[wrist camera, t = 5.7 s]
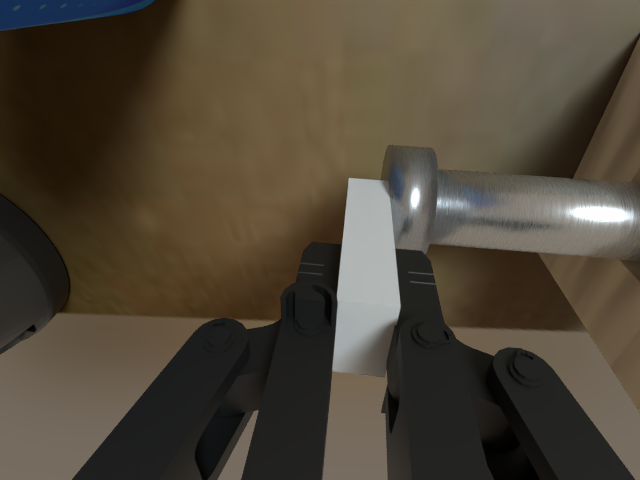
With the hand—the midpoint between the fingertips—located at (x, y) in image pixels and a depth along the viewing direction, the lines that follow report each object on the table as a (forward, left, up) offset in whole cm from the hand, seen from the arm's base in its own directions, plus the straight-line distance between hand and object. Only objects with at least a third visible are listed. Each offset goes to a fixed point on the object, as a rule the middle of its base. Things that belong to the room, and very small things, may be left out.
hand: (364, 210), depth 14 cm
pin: (+9, 0, -3) cm, 9 cm away
